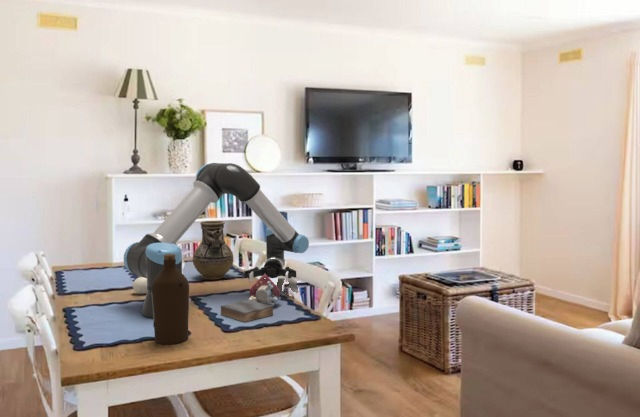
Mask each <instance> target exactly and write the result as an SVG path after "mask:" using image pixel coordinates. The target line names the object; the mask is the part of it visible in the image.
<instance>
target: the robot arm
mask: <svg viewBox="0 0 640 417" xmlns="http://www.w3.org/2000/svg"><path fill="white" fill-rule="evenodd" d="M195 177H196V178H195V180H194V181H193V183H192V185H193V188H192V189H191V191H189V193H188V194H187V195H186V196H185V198H183V199H182V200H181V202H180V203H178V205H177V206H176V207H175V208H174V209H173V210H172V212H171V213H170V214H169V215H168V216H167V217H166V218H165V219H164V221H162V223H161V224H160V225H159V226H158V227H157V228H156V229H155V230H154V232H151V233H146V234H145V235H144V236H143V237H142V239H141V240H140V241H139V242H138V241H137V242H133V243H132V244H129V245H128V246H127V248H126V249H125V252H124V253H123V264H124V267H125V269H126V270H127V271H128V272H130V273H131V274H132V275H134V276H136V277H138V278H139V277H144V278H147V293H146V295H145V298H144V301H143V305H142V307H141V308H142V311H141V312H142V313H141V314H142V315H143V316H144V317H145V318H152V319H154V318H153V305H152V294H151V287H152V283H153V280H154V279H155V277H156V276H157V275H158V274H159V273H160V272H161V271H162V269H163V268H164V255H165V254H175V259H176V268H177V269H178V270H179V271H180V272H181V273H182V274H183V262H182V261H183V254H182V248H181V247H180V246H179V245H177V242H178V241H179V240H180V239H181V238H182V237H183V235H184V234H185V233H186V232H187V231H188V230H189V228H191V227H192V225H193V224H194V223H195V222H196V220H198V218H199V217H200V216H201V215H202V214H203V213H204V211H206V209H207V208H208V207H209V206H210V205H211V203H213V204H214V203H217V202H218V201H219V200H220V199H221V198H222V197H223V196H224V195H225V194H226V195H232V196H234V197H235V198H236V199H238V200H239V201H240V203H245V204H246V205H247V206H248V207H249V208H250V209H251V210H252V211H253V213H254V214H255V215H256V216H257V217H258V218H259V219H260V220H261V221H262V223H263V224H264V225H265V226H266V227H267V228H266V230H265V231H266V233H265V240H266V241H265V244H266V262H265V263H264V265H263V267H261V268H259V267H258V266H255V267H253V268H250V269H248V270H245V271H243V273H244V274H243V275H244V278H245V279H248V280H249V281H248V282H249V283H252V282H253V280H254V278H256V277H257V278H258V277H262V276H263V275H267V276H268V277H269V278H270V279H275V278H278V277H284V278H285V282H286V283H288V281H289V279H291V278H297V270H295V269H293V268H290V267H289V266H285V264H286V262H285V261H286V259H285V252H290V253H295V254H303V253H305V252H306V251H307V250H308V248H309V245H310V241H309V239H308V237H307V236H306V235H305V234H304V235H303V234H299V233H298V231H296V229H295V228H294V226H292V225H291V223H290V222H289V221H288V219H286V218H285V217H284V216H283V214H282V213H281V212H280V211H279V209H277V207H276V206H275V205H274V204H273V203H272V201H271V200H270V199H269V197H268V196H267V195H265V193H264V192H263V191H262V190H261V185H260V183H259V182H258V181H257V180H256V179H255V178H254V177H253V176H252V174H250V173H249V172H248V171H247V170H246V169H244V168H243V167H242V166H240V165H238V164H235V163H230V162H228V163H222V162H221V163H218V162H211V163H206V164H204V165H202V166H201V167H199V169H198V170H197V173H196V175H195Z"/></svg>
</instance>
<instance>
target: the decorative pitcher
mask: <svg viewBox="0 0 640 417" xmlns="http://www.w3.org/2000/svg"><path fill="white" fill-rule="evenodd" d="M199 224H200V229H201V234H202V235H201V236H202V237H201V242H200V244H199V245H198V246H197V247H196V248H195V250H194V253H193V255H192V263H193V266H194V268H195V269H196V271H197V272H198V273H199V274H200V275H201V278H202V279H203V280H210V281H211V280H212V281H213V280H221V279H223V278H224V277H225V275H226V274H227V273H228V272H229V271H230V270H231V268H232V267H233V264H234V254H233V251H232V249H231V248H230V247H229V245H228V244H227V243H226V242H225V239H224V238H225V237H224V236H225V235H224V228H225V224H226V223H225V221H223V220H204V221H201V222H199Z"/></svg>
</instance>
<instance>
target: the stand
mask: <svg viewBox="0 0 640 417" xmlns="http://www.w3.org/2000/svg"><path fill="white" fill-rule="evenodd" d="M220 315H221V316H224V317H228V318H231V319H232V320H233V319H234V320H237V321H239V322H242V323H247V322H250V321H255V320H259V319H262V318H267V317H271V316H274V307H273V306H270V305H266V304H263V303H259V302H255V301H252V300H248V299H246V300H242V301H238V302H232V303H228V304H223V305H220Z"/></svg>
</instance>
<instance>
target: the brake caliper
mask: <svg viewBox="0 0 640 417" xmlns="http://www.w3.org/2000/svg"><path fill="white" fill-rule="evenodd" d="M249 295H250V296H249V298H248V299H247V300H252V301H255V302H259V303H263V304H266V305H270V306H273V308H274V307H275V305H277V303H278V301H279V300H280V296H281V290H280V288H279V287H278V286H277V285H276V284H275V283H274V282H273V281H272V280H271V278H269V277H268V276H267V275H263V276H260V278H259V279H258V280H257V281H256V282H255V283H254V284H253V285H252V286H251V287H250V289H249Z"/></svg>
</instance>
